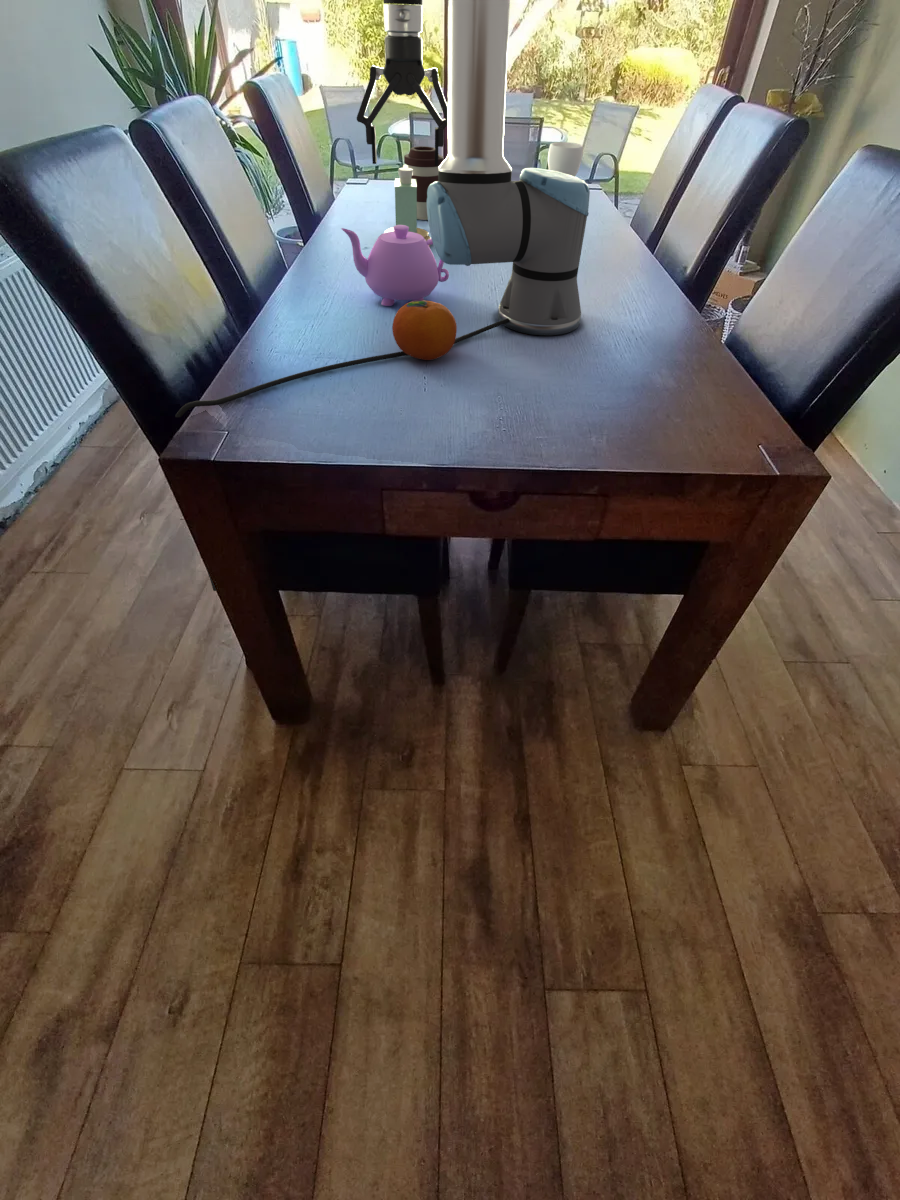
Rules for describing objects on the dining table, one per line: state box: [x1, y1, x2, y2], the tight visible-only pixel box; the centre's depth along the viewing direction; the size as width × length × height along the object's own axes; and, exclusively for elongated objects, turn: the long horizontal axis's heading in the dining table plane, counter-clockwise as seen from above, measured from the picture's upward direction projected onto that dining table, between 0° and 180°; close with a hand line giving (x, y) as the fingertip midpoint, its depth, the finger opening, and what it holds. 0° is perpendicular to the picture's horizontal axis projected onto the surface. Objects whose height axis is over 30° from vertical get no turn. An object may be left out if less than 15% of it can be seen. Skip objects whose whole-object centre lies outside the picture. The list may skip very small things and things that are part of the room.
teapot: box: [340, 224, 450, 307], centre depth 119 cm, size 20×14×12 cm
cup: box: [547, 141, 584, 177], centre depth 167 cm, size 9×9×16 cm
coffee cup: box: [403, 145, 444, 221], centre depth 162 cm, size 10×10×15 cm
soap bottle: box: [383, 164, 429, 240], centre depth 144 cm, size 10×10×13 cm
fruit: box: [391, 299, 458, 361], centre depth 102 cm, size 11×10×8 cm
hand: (405, 164), depth 139 cm, fingers open, 13 cm apart
